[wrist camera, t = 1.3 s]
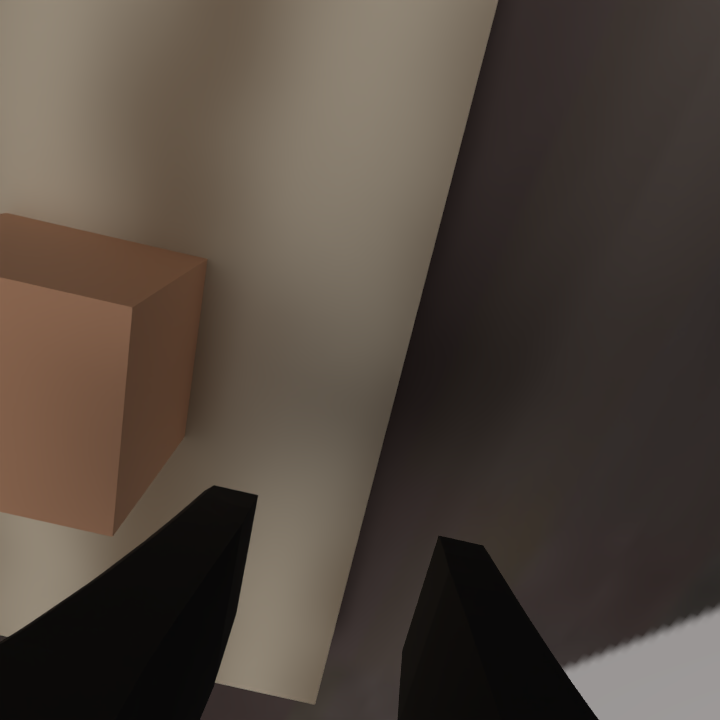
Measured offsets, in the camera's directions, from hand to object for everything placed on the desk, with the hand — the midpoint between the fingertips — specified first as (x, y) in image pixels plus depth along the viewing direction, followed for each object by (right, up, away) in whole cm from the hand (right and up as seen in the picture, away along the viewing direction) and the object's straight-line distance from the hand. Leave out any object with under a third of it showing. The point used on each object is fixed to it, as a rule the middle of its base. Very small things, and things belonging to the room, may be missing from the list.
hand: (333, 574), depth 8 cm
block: (-6, +4, +6) cm, 9 cm away
